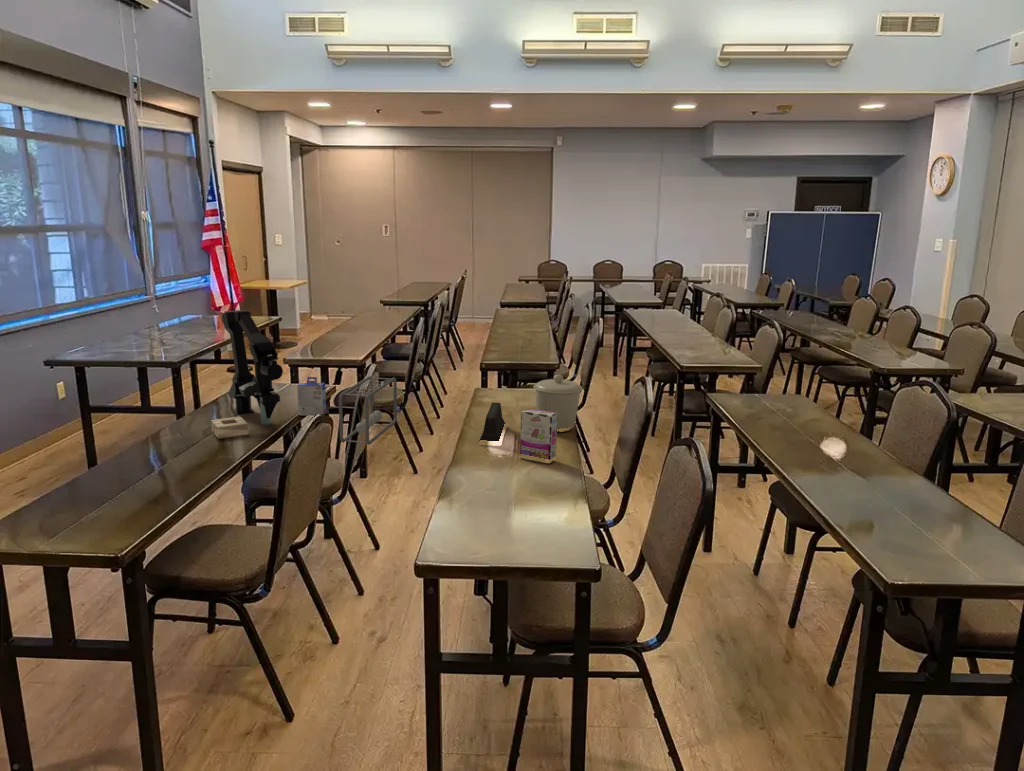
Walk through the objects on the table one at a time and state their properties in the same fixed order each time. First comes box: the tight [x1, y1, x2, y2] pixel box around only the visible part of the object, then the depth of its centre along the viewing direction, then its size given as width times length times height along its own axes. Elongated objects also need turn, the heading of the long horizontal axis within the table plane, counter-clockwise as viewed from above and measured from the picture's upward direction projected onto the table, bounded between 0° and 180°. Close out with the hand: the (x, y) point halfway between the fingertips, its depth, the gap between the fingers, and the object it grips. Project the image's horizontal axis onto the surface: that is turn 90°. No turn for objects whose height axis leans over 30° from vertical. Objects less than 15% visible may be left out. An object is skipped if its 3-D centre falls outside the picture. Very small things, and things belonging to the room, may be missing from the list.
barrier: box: [479, 402, 506, 441], centre depth 257 cm, size 24×9×10 cm, turn 175°
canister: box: [533, 374, 583, 429], centre depth 265 cm, size 18×18×21 cm
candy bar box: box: [519, 408, 558, 460], centre depth 232 cm, size 11×5×16 cm, turn 62°
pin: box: [259, 402, 272, 426], centre depth 263 cm, size 4×4×9 cm
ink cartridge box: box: [297, 376, 328, 417], centre depth 276 cm, size 10×6×14 cm, turn 92°
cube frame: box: [338, 375, 398, 445], centre depth 256 cm, size 30×10×18 cm, turn 170°
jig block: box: [210, 416, 249, 440], centre depth 252 cm, size 10×10×4 cm
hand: (265, 415), depth 263 cm, fingers open, 7 cm apart
